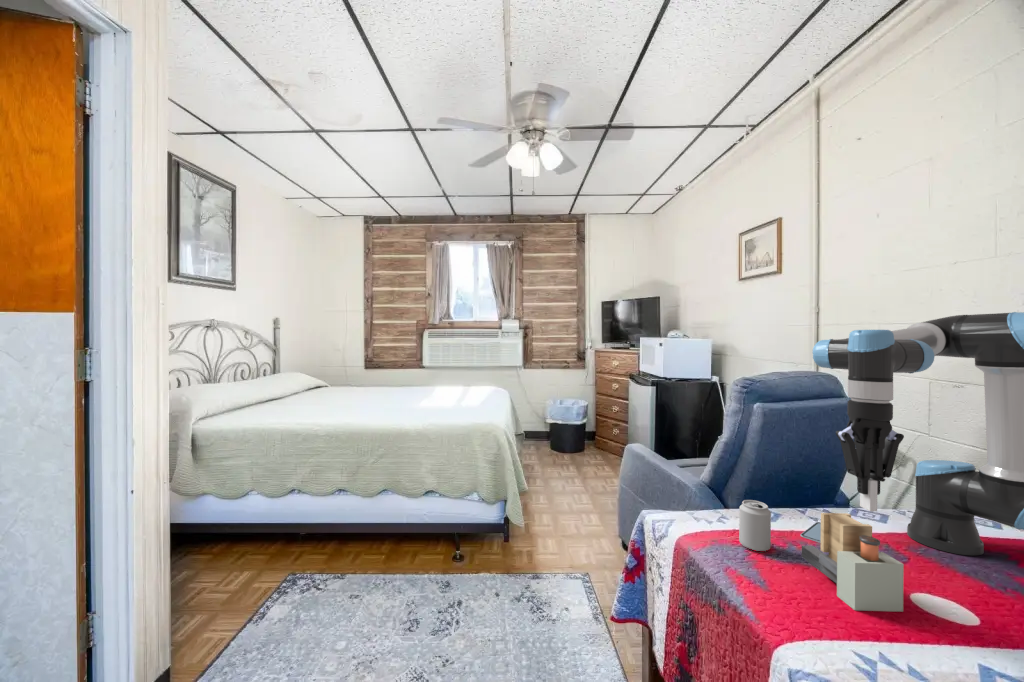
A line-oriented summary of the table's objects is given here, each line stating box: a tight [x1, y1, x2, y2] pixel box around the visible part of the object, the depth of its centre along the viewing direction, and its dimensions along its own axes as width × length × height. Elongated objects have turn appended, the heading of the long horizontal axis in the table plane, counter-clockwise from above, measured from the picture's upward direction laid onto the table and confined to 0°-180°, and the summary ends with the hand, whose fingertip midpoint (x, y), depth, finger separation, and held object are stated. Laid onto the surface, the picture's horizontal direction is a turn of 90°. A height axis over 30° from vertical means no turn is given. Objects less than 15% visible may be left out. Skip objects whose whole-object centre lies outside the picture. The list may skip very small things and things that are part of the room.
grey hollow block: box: [836, 551, 905, 613], centre depth 90 cm, size 10×5×10 cm, turn 89°
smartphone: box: [800, 521, 821, 544], centre depth 123 cm, size 7×1×15 cm
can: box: [738, 499, 772, 552], centre depth 115 cm, size 8×8×12 cm
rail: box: [801, 545, 837, 585], centre depth 101 cm, size 3×17×3 cm, turn 179°
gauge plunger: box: [859, 535, 881, 561], centre depth 90 cm, size 3×3×4 cm
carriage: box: [819, 512, 873, 584], centre depth 97 cm, size 7×7×14 cm
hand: (868, 508), depth 90 cm, fingers closed
